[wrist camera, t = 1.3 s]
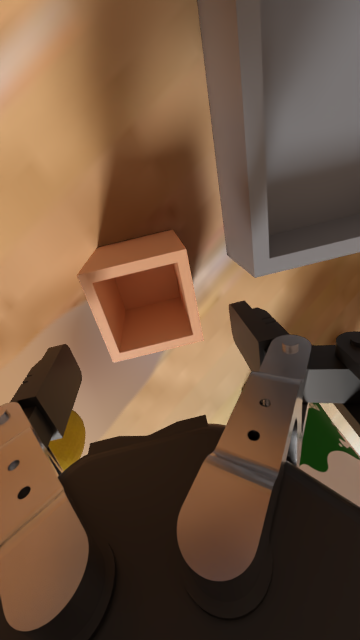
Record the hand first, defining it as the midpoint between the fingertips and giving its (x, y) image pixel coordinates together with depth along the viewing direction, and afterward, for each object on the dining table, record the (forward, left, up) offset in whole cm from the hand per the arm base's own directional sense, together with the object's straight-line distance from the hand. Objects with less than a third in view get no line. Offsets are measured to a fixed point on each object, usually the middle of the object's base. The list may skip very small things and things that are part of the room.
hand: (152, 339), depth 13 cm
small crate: (0, 0, -10) cm, 10 cm away
